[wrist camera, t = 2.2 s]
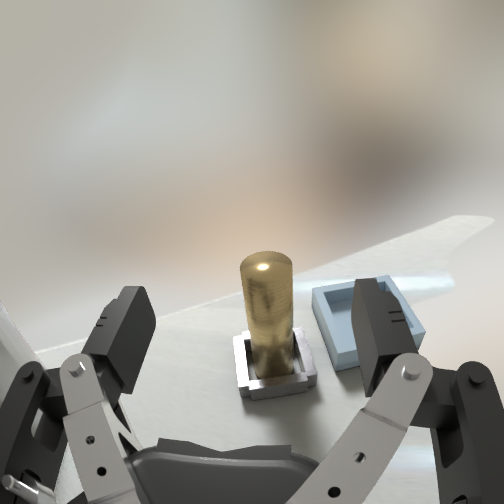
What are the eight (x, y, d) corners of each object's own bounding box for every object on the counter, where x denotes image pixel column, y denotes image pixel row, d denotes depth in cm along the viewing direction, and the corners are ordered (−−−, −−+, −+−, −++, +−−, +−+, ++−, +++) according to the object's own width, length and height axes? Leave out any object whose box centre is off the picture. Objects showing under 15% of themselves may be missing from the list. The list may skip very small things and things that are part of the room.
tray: (334, 371, 31) (338, 353, 29) (311, 306, 39) (312, 288, 37) (418, 349, 31) (425, 331, 29) (384, 293, 39) (388, 274, 38)
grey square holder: (241, 401, 29) (238, 391, 28) (235, 345, 35) (233, 333, 34) (317, 389, 29) (318, 378, 28) (301, 335, 35) (301, 323, 34)
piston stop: (256, 385, 30) (242, 285, 23) (252, 355, 34) (238, 255, 27) (296, 378, 31) (297, 277, 23) (289, 349, 34) (286, 248, 27)
